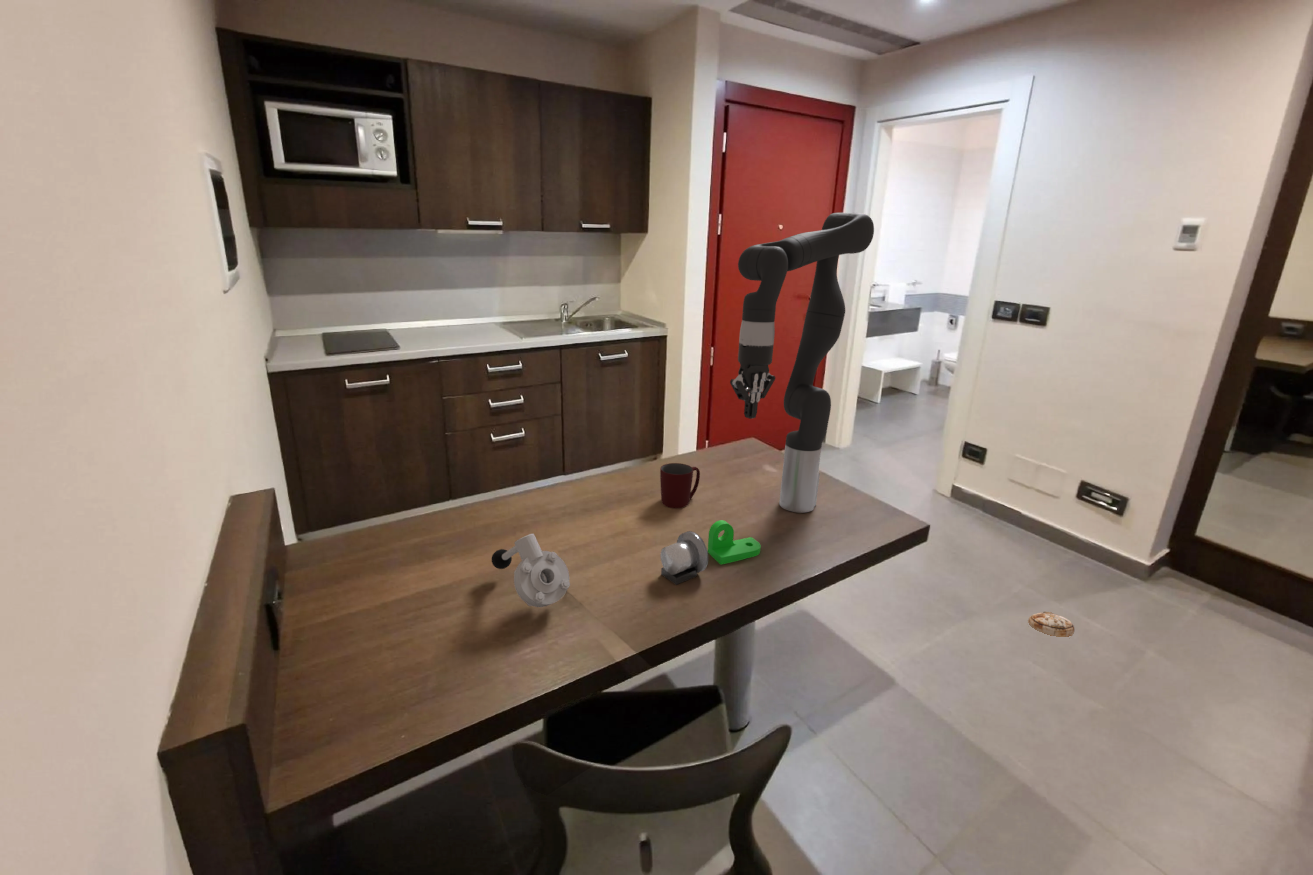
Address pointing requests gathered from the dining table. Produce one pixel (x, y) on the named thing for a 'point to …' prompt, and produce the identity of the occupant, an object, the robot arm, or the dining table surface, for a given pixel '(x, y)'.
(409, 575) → the dining table surface
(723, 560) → the mechanical part
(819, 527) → the dining table surface
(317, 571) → the dining table surface
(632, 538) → the dining table surface
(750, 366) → the robot arm
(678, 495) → the mug
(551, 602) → the mechanical valve
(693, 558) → the grey mushroom knob
